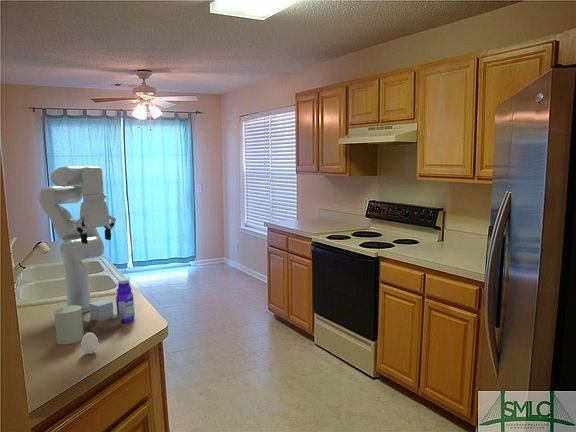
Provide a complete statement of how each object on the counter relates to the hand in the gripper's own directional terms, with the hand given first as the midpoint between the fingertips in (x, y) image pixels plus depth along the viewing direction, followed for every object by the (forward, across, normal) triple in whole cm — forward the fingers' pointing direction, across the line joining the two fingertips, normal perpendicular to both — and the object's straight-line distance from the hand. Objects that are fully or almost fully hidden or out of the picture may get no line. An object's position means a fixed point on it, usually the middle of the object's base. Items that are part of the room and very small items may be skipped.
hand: (96, 241), depth 175 cm
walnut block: (+34, +4, +7) cm, 35 cm away
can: (+34, +16, +7) cm, 38 cm away
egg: (+34, +18, +24) cm, 45 cm away
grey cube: (+29, +4, +7) cm, 30 cm away
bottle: (+34, -7, +6) cm, 35 cm away
